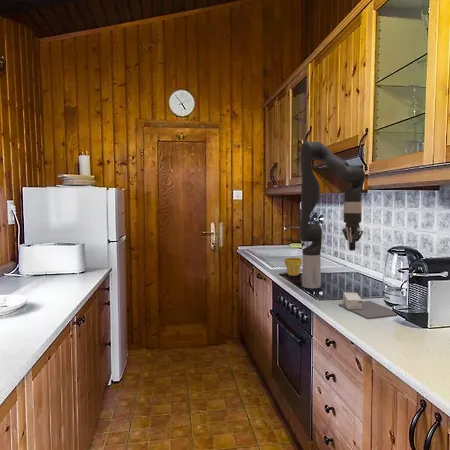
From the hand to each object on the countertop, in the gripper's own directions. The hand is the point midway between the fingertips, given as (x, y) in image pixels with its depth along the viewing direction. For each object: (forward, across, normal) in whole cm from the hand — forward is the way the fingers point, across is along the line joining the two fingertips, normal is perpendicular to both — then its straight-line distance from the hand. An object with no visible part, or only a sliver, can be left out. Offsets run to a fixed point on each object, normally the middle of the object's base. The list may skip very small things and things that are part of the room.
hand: (352, 250), depth 171 cm
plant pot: (+23, -62, +1) cm, 66 cm away
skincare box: (+20, +3, -3) cm, 21 cm away
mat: (+23, +15, -2) cm, 28 cm away
